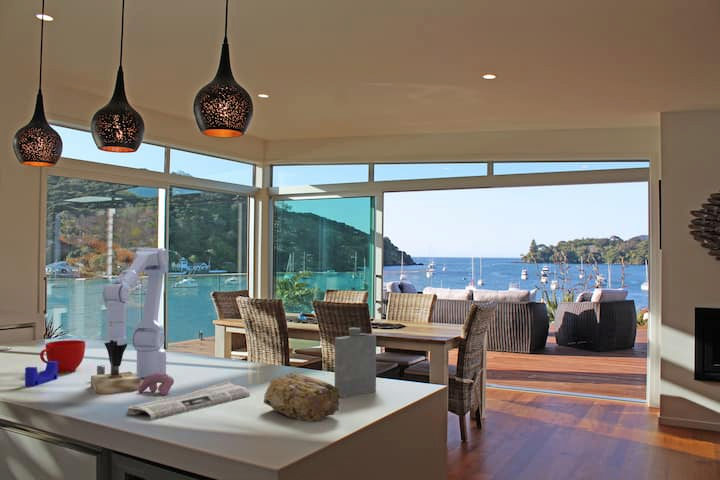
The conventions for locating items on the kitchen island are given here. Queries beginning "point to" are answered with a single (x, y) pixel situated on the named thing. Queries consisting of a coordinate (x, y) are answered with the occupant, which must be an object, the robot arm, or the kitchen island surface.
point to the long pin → (114, 370)
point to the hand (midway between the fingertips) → (115, 365)
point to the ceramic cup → (65, 354)
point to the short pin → (100, 370)
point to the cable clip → (41, 374)
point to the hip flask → (355, 363)
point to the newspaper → (191, 400)
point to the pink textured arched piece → (152, 383)
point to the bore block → (115, 382)
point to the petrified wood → (302, 397)
